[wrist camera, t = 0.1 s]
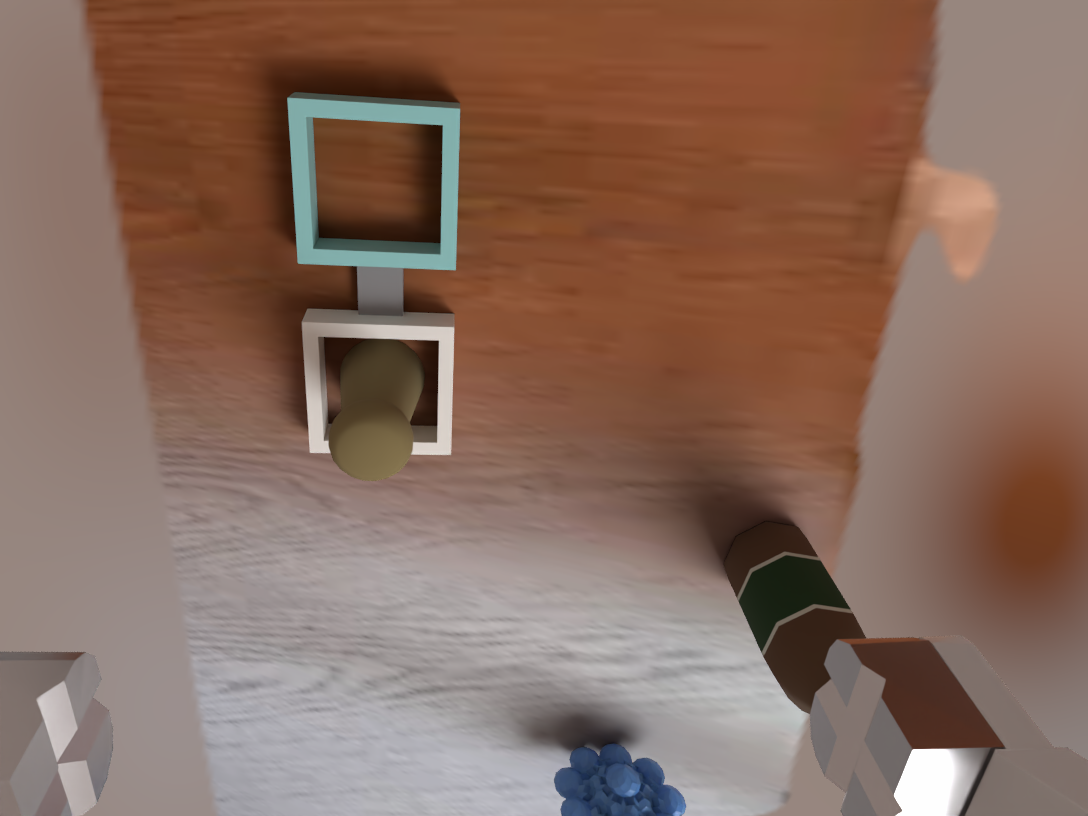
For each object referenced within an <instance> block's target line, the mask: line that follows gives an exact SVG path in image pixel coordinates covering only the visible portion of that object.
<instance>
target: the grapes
mask: <svg viewBox="0 0 1088 816" xmlns="http://www.w3.org/2000/svg"><path fill="white" fill-rule="evenodd" d="M570 763H571V767H572V768H571V767H568V768H561V769H560V770H559V771H558V772H556V775H555V778H554V783H555V787H556V790H557V791H558V793H559V794H560V795H561V796H562V797H564V798H566V800H565V801H563V803H562V806H561V814H562V816H681V815H683V814H684V812H685V808H686V804H685V800H684V797H683V796H682V795H681V793H680V792H679V791H678V790H677V789H676V788H674V787H672V786H670V785H663V783H664V779H665V777H664V773H663V770H662V768H661V767H660V766H659V765H658V764H657V762H655V761H653V760H652V759H649V758H641V759H637V760H636V761H635V762H633V763H632V760H631V756H630V754H629V753H628V751H627V750H626V749H625V748H624V747H622V746H621V745H618V744H607V745H605V746H604V747H603V748H602V749H601V751H600V755H599V756H598V754H597V753H596V752H595V751H593V750H592V749H590V748H587V747H581V748H576V749H575V750H574V751H573V752H572V753H571V756H570Z"/></svg>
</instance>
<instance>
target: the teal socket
mask: <svg viewBox="0 0 1088 816" xmlns="http://www.w3.org/2000/svg"><path fill="white" fill-rule="evenodd" d="M287 101H288V117H289V132H290V148H291V164H292V179H293V195H294V211H295V226H296V242H297V257H298V264H318V265H343V266H367V267H391V268H415V269H439V270H456V243H457V206H458V168H459V131H460V103H454V102H439V101H424V100H408V99H393V98H378V97H362V96H347V95H332V94H316V93H301V92H294V93H293V94H291V95H290V96H289V97H288V98H287ZM313 117H317V118H334V119H350V120H366V121H382V122H398V123H415V124H431V125H443V146H442V202H441V243H423V242H401V241H378V240H356V239H334V238H319V231H318V211H317V192H316V172H315V153H314V133H313Z"/></svg>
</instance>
